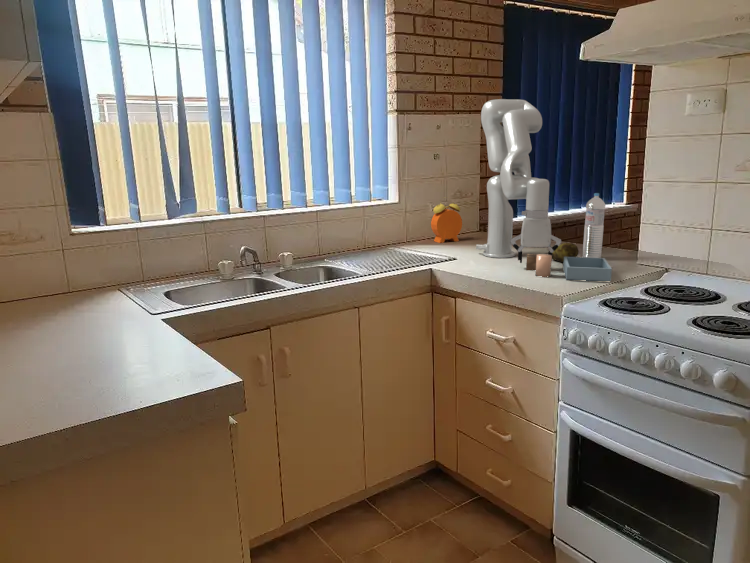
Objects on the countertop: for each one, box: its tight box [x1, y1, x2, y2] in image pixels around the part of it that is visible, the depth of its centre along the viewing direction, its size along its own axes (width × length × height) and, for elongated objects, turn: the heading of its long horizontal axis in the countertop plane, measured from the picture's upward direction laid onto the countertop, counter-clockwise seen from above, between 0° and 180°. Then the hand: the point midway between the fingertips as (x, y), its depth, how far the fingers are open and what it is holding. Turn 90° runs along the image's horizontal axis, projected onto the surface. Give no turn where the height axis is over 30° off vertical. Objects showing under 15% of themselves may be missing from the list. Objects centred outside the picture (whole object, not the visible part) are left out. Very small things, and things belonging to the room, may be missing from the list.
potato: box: [552, 242, 580, 263], centre depth 215 cm, size 8×13×8 cm, turn 2°
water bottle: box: [581, 192, 606, 258], centre depth 219 cm, size 7×7×25 cm
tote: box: [562, 256, 613, 282], centre depth 195 cm, size 14×18×4 cm
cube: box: [525, 253, 539, 271], centre depth 205 cm, size 5×5×5 cm
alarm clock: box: [430, 197, 463, 244], centre depth 262 cm, size 13×6×20 cm, turn 113°
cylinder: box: [534, 253, 553, 278], centre depth 195 cm, size 5×5×7 cm
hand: (534, 262), depth 205 cm, fingers open, 9 cm apart
